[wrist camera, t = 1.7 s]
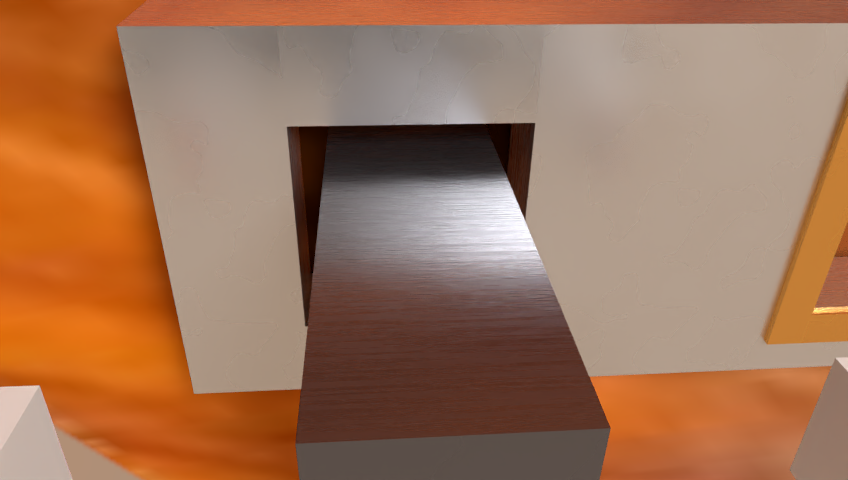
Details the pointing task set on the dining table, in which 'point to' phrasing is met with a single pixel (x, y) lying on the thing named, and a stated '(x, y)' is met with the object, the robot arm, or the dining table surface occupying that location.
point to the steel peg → (436, 322)
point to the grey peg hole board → (516, 163)
